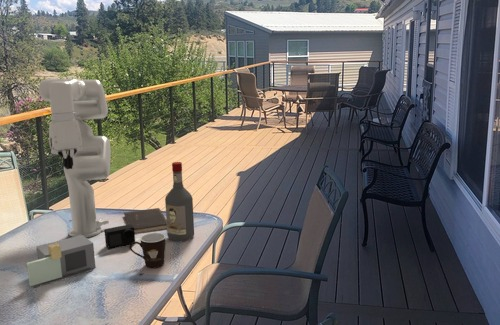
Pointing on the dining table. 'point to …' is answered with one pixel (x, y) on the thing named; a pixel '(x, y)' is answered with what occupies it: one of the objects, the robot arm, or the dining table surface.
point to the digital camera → (119, 236)
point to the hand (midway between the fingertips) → (68, 168)
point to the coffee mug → (152, 249)
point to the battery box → (71, 257)
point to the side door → (46, 267)
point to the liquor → (179, 208)
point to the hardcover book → (146, 220)
